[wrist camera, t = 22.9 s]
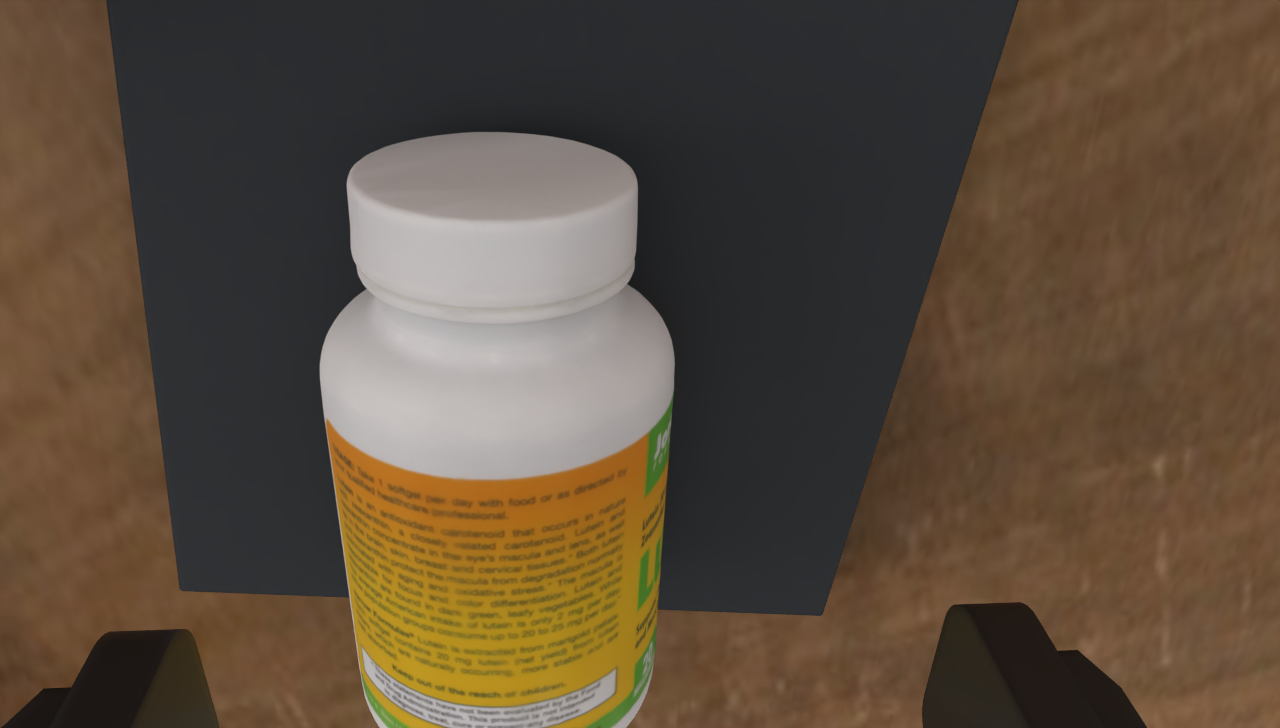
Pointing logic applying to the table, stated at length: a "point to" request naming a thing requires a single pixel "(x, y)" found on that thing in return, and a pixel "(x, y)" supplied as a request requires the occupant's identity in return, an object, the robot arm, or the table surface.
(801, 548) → the charcoal mat
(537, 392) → the supplement bottle
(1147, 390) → the table surface
